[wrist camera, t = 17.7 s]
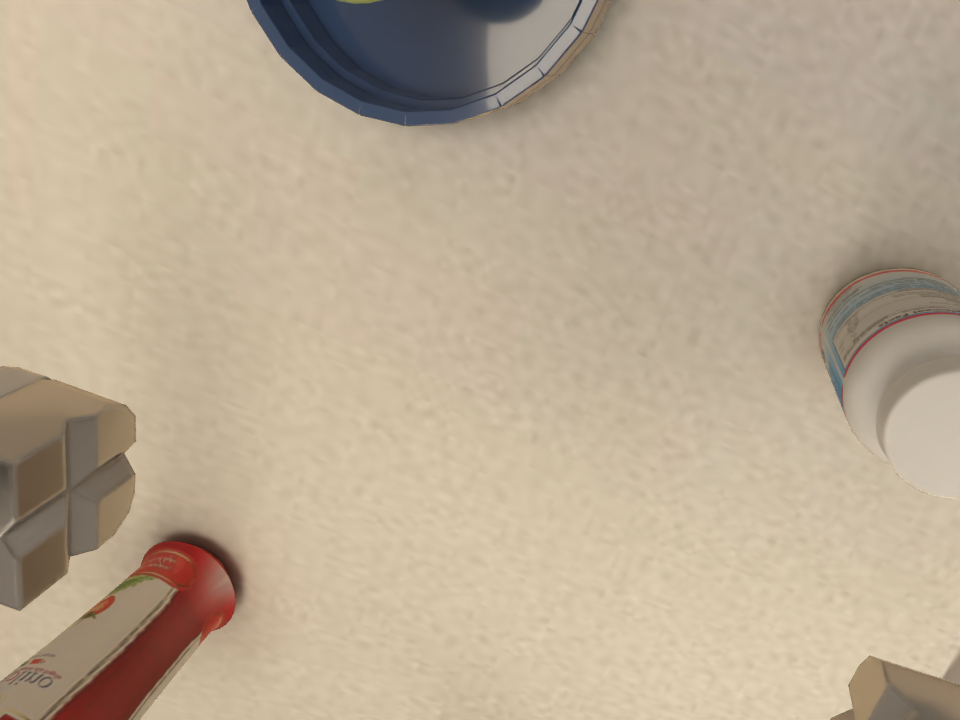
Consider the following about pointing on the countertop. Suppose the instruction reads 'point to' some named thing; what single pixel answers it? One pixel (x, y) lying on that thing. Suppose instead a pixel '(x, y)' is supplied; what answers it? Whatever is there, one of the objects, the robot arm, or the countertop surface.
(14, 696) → the liquor
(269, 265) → the countertop surface
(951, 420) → the pill bottle
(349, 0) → the beverage can
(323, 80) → the bowl
